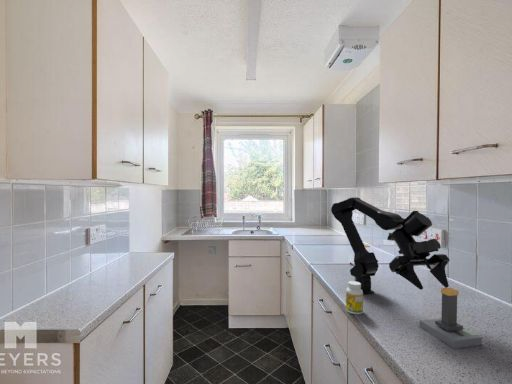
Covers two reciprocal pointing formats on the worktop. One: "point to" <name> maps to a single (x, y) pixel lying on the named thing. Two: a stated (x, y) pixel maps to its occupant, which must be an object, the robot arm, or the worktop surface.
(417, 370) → the worktop surface
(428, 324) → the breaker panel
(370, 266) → the robot arm
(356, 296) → the supplement bottle
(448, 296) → the breaker handle
